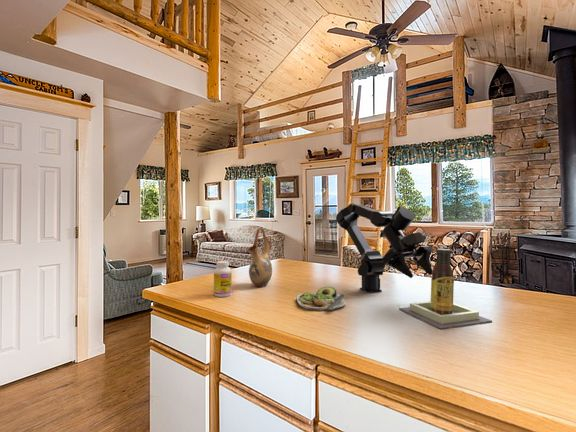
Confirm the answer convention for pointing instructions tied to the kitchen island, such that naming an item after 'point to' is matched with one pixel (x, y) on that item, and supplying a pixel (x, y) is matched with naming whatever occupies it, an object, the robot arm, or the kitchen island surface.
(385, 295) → the kitchen island surface
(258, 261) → the ceramic vessel
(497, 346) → the kitchen island surface
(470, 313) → the bottle collar
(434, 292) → the sauce bottle
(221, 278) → the supplement bottle
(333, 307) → the salad plate
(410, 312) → the rubber mat
